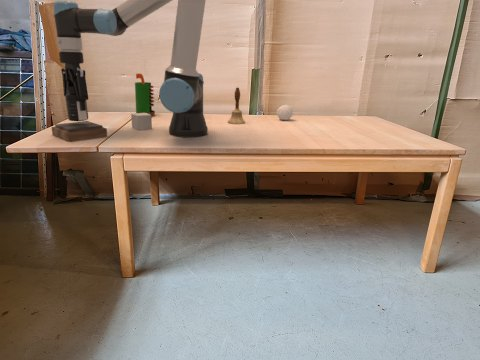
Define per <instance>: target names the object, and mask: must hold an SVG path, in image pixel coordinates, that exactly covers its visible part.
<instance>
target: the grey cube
mask: <svg viewBox="0 0 480 360" xmlns="http://www.w3.org/2000/svg"><path fill="white" fill-rule="evenodd" d="M130 115H131V117H130V118H131V128H132V129H133V130H135V131H147V130H153V128H152V127H153V125H152V124H153V123H152V122H153V121H152V117H151V115H150V114H147V113H136V112H134V113H130Z"/></svg>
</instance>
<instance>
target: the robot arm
mask: <svg viewBox="0 0 480 360" xmlns="http://www.w3.org/2000/svg"><path fill="white" fill-rule="evenodd" d="M172 1H173V0H126V1H124V2H122V3H121V4H119V5H117V6H116V7H115V8H113V9H112V10H111V9H106V8H80V7H79V5H78V3H77V2H76V1H72V0H71V1H70V0H56V1H54V3H53V18H54V22H55V23H54V24H55V29H56V38H57V39H56V41H55V42H56V44H57V46H58V48H57V49H58V50H60V51H59V52H58V55H59V56H58V57H59V62H60V63H61V64H64V68H60V70H61V76H62V77H61V78H62V87H63V97H65V96H66V94H68V91H67V86H71V85H74V87H75V91H76V95H77V99H78V100H76V102H77V109H78V118H79V120H84V121H88V119H87V113H86V104H85V101H86V102H87V100H89V93H88V86H87V81H86V70H85V69H81V66H80V64H84V53H83V52H82V51H83V41H82V39H83V38H82V34H100V35H106V36H112V37H117V36H118V37H119V36H122V35H124V33H125V32H126V30H128V28H130V27H131V26H133V25H135V24H136V23H138V22H139V21H141V20H142V19H144V18H146V17H148V16H150V15H151V14H153V13H154V12H155V11H157V10H158V11H159V9H161V8H163V7H164V6H165V5H167V4H169V3H170V2H172ZM206 1H207V0H177V7H176V8H177V9H176V16H175V26H174V31H173V32H174V33H173V40H172V41H173V42H172V48H171V50H172V51H171V58H170V65H169V66H167V67H166V68H165V70H164V78H163V82H162V84H161V86H160V87H159V92H158V93H159V94H158V97H159V101H160V102H161V104H162V105H163V107H164V108H165V109H166V110H168V111H169V112H172V116H171V119H170V124H169V127H168V134H170V135H171V136H175V137H183V138H192V137H193V138H194V137H203V136H206V135H208V131H209V130H208V129H209V128H208V126H207V123H206V119H205V116H204V84H205V83H204V82H205V81H204V76H203V75H202V74H201V73H199V72H198V70H197V63H198V56H199V50H200V41H201V35H202V28H203V21H204V14H205V9H206V8H205V6H206Z"/></svg>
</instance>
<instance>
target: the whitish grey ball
mask: <svg viewBox="0 0 480 360" xmlns="http://www.w3.org/2000/svg"><path fill="white" fill-rule="evenodd" d="M293 110H294V109H293V107H292V106H291V105H288V104H283V105H282V106H281V105H280V106H279V107H278V109H277V110H276V115H277V118H279V120H281V121H288V120H290V119H291V118H292V116H293V115H294V114H293V113H294V112H293Z"/></svg>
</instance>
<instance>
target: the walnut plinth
mask: <svg viewBox="0 0 480 360" xmlns="http://www.w3.org/2000/svg"><path fill="white" fill-rule="evenodd" d="M51 134H52V136H53V135H54V137H56V138H58V137H59V138H58V139H61V140H64V141H65V142H68V143H70V142H79V141H86V140H92V139H99V138H106V137H108V129H107V128H106V127H103V125H102V124H99V123H95V122H91V121H89V120H84V121H72V122H67V123H66V122H65V123H56V124H55V125H54V126H51Z"/></svg>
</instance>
